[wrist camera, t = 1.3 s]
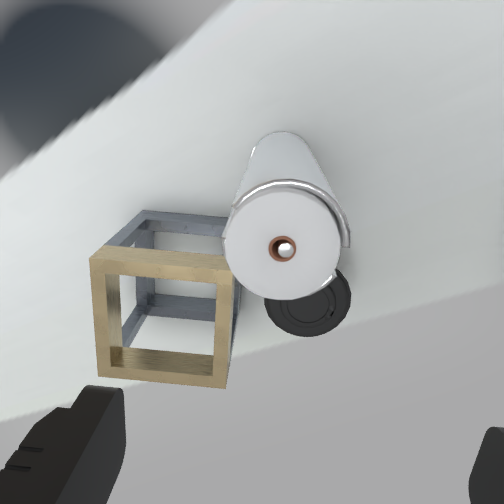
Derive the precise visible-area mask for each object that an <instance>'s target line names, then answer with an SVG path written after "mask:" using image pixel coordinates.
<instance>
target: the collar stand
mask: <svg viewBox="0 0 504 504" xmlns="http://www.w3.org/2000/svg"><path fill="white" fill-rule="evenodd" d="M228 219H229V218H225V217H214V216H203V215H191V214H180V213H168V212H157V211H145V210H142V211H141V212H140V213H139V214H138V215H137V216H136V217H135V218H133V219H132V220H131V221H130V222H129V223H128V224H127V225H126V226H124V227H123V228H122V229H121V230H120V231H119V232H118V233H117V234H116V235H114V236H113V237H112V238H111V239H110V240H109V241H108V242H107V243H105V244H104V245H103V246H102V247H101V248H100V249H99V250H98V251H96V252H95V253H94V254H93V255H92V256H91V257H90V258H89V263H90V277H91V290H92V303H93V316H94V329H95V342H96V355H97V368H98V376H99V377H109V378H120V379H130V380H140V381H150V382H160V383H171V384H181V385H191V386H201V387H211V388H221V389H226V384H227V378H228V372H229V366H230V361H231V355H232V349H233V343H234V338H235V332H236V326H237V320H238V315H239V307H240V293H241V283H240V282H239V281H238V280H237V278H236V277H235V276H234V275H233V273H232V272H231V270H230V269H229V267H228V264H227V262H226V259H225V257H224V254H223V255H211V254H200V253H188V252H177V251H166V250H155V249H154V231H161V232H173V233H184V234H195V235H207V236H218V237H222V234H223V232H224V229H225V226H226V224H227V221H228ZM134 242H135V248H133V247H130V246H131V245H132V244H133V243H134ZM119 275H129V276H136V299H137V305H136V307H135V308H134V310H133V311H132V313H131V314H130V316H129V318H128V319H127V321H126V322H125V324H124V325H123V327H122V324H121V304H120V283H119ZM154 278H162V279H173V280H184V281H194V282H205V283H216V284H217V293H216V299H206V298H195V297H184V296H173V295H162V294H155V286H154ZM147 315H150V316H160V317H171V318H182V319H192V320H203V321H214V322H215V336H214V356H212V355H202V354H191V353H181V352H171V351H160V350H150V349H139V348H129V346H130V345H131V343H132V341H133V339H134V338H135V336H136V334H137V333H138V331H139V329H140V327H141V326H142V324H143V322H144V320H145V319H146V317H147Z"/></svg>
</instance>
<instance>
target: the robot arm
mask: <svg viewBox="0 0 504 504" xmlns="http://www.w3.org/2000/svg"><path fill="white" fill-rule="evenodd" d="M125 447H126V430H125V411H124V394H123V390H122V389H121V388H113V387H103V386H93V385H87V386H85V387H84V388H83V390H82V391H81V393H80V394H79V396H78V397H77V399H76V400H75V402H74V403H73V405H72V406H71V408H60V407H57V408H56V409H54V410H53V411H52V412H50V413H49V414H48V415H46V416H45V417H44V418H42V419H41V420H40V421H38V422H37V423H36V424H35V425H34V426H33V427H32V429H31V430H30V431H29V433H28V434H27V435H26V437H25V438H24V440H23V441H22V442H21V444H20V445H19V448H18V450H16V451H15V452H14V453H13V455H12V456H11V458H10V459H9V460H8V461H7V463H6V464H5V468H4V469H2V470H1V471H0V504H106V503H107V501H108V498H109V496H110V493H111V491H112V489H113V486H114V484H115V482H116V479H117V477H118V474H119V472H120V469H121V466H122V463H123V459H124V454H125ZM469 497H470V501H471V504H504V428H501V427H490V428H489V429H488V430H487V431H486V433H485V436H484V439H483V441H482V444H481V447H480V450H479V453H478V455H477V458H476V461H475V464H474V466H473V469H472V472H471V475H470V478H469Z"/></svg>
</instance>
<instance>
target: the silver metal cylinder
mask: <svg viewBox="0 0 504 504" xmlns="http://www.w3.org/2000/svg"><path fill="white" fill-rule="evenodd" d="M232 207H233V208H232V211H231V213H230V216H229V219H228V221H227V224H226V226H225V229H224V232H223V234H222V237H221V238H222V248H223V254H224V257H225V259H226V262H227V264H228V267H229V269H230V270H231V272H232V273H233V275H234V276H235V277H236V278H237V280H238V281H239V282H240V283H241V284H242V285H243V286H244V287H246V288H247V289H248V290H249V291H250V292H252V293H255V294H257V295H259V296H261V297H263V298H269V299H275V300H293V299H298V298H302V297H306V296H309V295H312V294H314V293H316V292H318V291H319V290H321V289H323V288H325V287H326V286H327V285H328V284H329V283H330V282H331V281H332V280H334V279H335V278H336V277H337V275H336V272H335V268H336V267H337V263H338V260H339V256H340V243H341V246H342V247H349V248H350V228H349V224H348V221H347V217H346V215H345V213H344V211H343V209H342V207H341V205H340V203H339V202H338V200H337V198H336V196H335V194H334V192H333V191H332V189H331V187H330V185H329V183H328V181H327V180H326V178H325V176H324V174H323V172H322V170H321V169H320V167H319V165H318V163H317V161H316V159H315V158H314V156H313V154H312V152H311V150H310V149H309V147H308V145H307V144H306V142H305V141H303V140H302V139H301V138H300V137H299V136H297V135H295V134H293V133H288V132H275V133H272V134H269V135H267V136H266V137H264V138H263V139H261V140H260V141H259V142H258V144H257V145H256V146H255V148H254V150H253V152H252V155H251V158H250V161H249V164H248V166H247V169H246V171H245V174H244V176H243V179H242V181H241V184H240V186H239V189H238V191H237V194H236V197H235V199H234V202H233V204H232Z"/></svg>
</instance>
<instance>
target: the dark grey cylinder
mask: <svg viewBox="0 0 504 504" xmlns="http://www.w3.org/2000/svg"><path fill="white" fill-rule="evenodd" d="M335 272H336V275H337V277H336V278H335V279H334V280H332V281H331V282H330V283H329V284H328V285H327V286H326V287H325V288H323V289H321V290H319V291H318V292H316V293H314V294H312V295H309V296H306V297H302V298H298V299H293V300H275V299H269V298H264V305H265V308H266V310H267V313H268V316H269V317H270V318H271V320H272V321H273V322H274V323H275V325H276V326H278V327H279V328H281V329H282V330H284V331H285V332H287V333H290V334H293V335H296V336H302V337H313V336H318V335H322V334H325V333H327V332H329V331H331V330H332V329H334V328H335V327H337V326H338V325H339V323H340V322H341V321H342V320H343V319H344V318H345V317H346V314H347V312H348V310H349V308H350V303H351V291H350V288H349V284H348V282H347V280H346V279H345V278H344V276H343V275H342V273H341V272H340V271H339V270H337V269H336V268H335Z"/></svg>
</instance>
